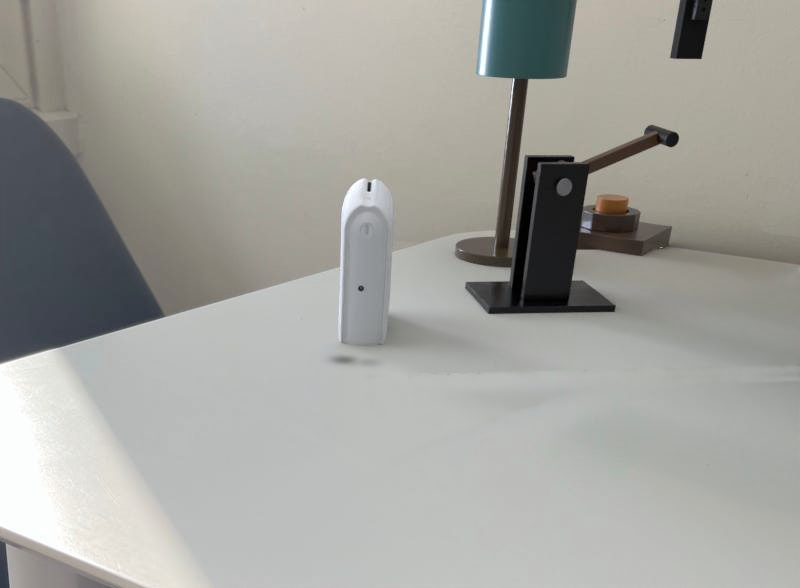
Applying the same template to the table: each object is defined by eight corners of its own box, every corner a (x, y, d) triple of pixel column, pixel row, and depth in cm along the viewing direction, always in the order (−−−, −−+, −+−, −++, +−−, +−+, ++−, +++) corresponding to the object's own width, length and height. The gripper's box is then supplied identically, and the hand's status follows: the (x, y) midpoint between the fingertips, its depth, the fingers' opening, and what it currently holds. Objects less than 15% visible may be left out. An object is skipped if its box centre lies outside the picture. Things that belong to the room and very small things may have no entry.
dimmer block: (668, 245, 118) (675, 209, 115) (640, 261, 111) (647, 223, 109) (573, 232, 123) (578, 197, 121) (540, 246, 116) (545, 209, 114)
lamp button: (630, 213, 115) (633, 196, 114) (619, 218, 113) (622, 201, 112) (601, 209, 117) (603, 193, 116) (589, 213, 115) (592, 197, 114)
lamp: (545, 254, 113) (581, -8, 99) (545, 275, 105) (585, -7, 91) (457, 249, 114) (480, -10, 100) (451, 269, 106) (475, -9, 92)
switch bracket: (581, 292, 100) (603, 151, 92) (613, 318, 92) (640, 167, 85) (464, 294, 98) (478, 151, 91) (487, 320, 91) (504, 167, 84)
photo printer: (387, 354, 82) (396, 193, 75) (335, 352, 82) (340, 191, 75) (387, 318, 91) (396, 170, 84) (340, 316, 91) (345, 169, 84)
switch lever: (658, 142, 91) (654, 115, 89) (681, 151, 87) (677, 122, 85) (533, 195, 92) (527, 169, 91) (550, 206, 88) (544, 178, 86)
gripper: (671, -237, 93) (625, 55, 106) (736, -268, 82) (677, 61, 95) (746, -234, 94) (692, 55, 106) (821, -264, 83) (751, 62, 96)
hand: (685, 58), depth 101 cm, fingers closed
